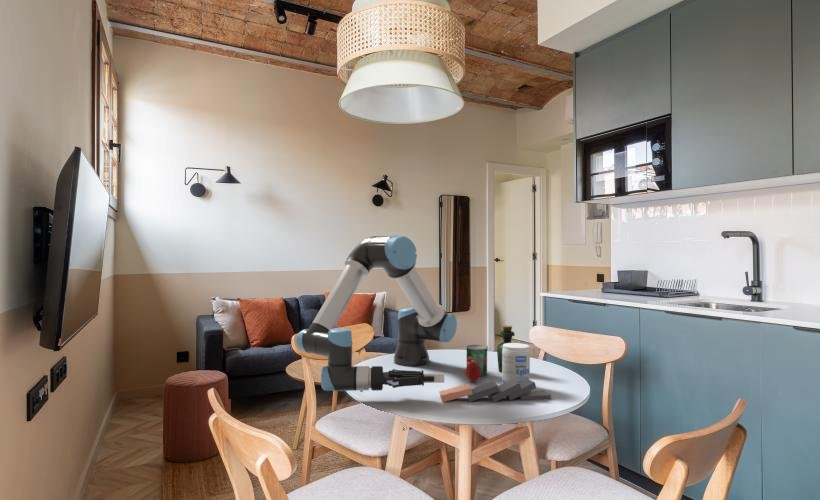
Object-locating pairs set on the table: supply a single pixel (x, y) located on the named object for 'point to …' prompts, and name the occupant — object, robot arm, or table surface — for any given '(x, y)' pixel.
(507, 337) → the potion bottle
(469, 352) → the canned tomato
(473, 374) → the onion
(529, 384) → the domino
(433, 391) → the table surface
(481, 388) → the domino
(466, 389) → the orange domino
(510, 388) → the domino
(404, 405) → the table surface
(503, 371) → the supplement tub
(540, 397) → the domino
